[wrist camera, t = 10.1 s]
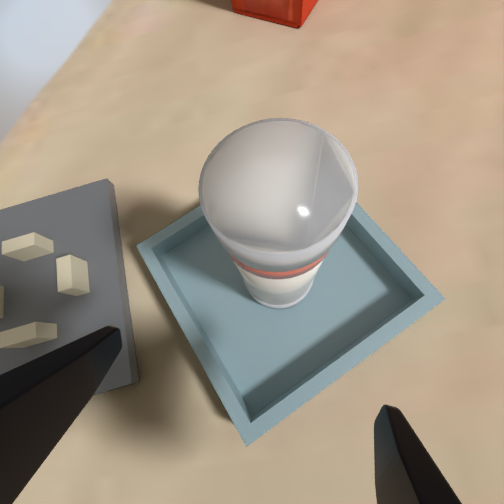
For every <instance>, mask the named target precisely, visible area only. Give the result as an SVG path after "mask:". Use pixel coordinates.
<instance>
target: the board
mask: <svg viewBox="0 0 504 504" xmlns="http://www.w3.org/2000/svg"><path fill="white" fill-rule="evenodd" d="M108 325H110V326H114V327H118V328H119V329H120V331H121V337H122V349H121V351H120V353H119V355H118V356H117V358H116V359H115V361H114V363H113V364H112V366H111V368H110V369H109V371H108V373H107V374H106V376H105V378H104V379H103V381H102V382H101V384H100V386H99V387H98V389H97V390H96V392H95V393H94V395H95V394H99V393H102V392H106V391H109V390H112V389H116V388H119V387H123V386H126V385H129V384H133V383H136V382H139V376H138V369H137V361H136V353H135V345H134V338H133V330H132V322H131V315H130V307H129V299H128V291H127V284H126V276H125V268H124V260H123V253H122V245H121V237H120V230H119V222H118V214H117V206H116V199H115V191H114V185H113V184H112V183H111V182H110V181H109V180H108V179H103V180H100V181H96V182H93V183H90V184H86V185H83V186H80V187H76V188H73V189H69V190H66V191H63V192H59V193H56V194H52V195H49V196H46V197H42V198H39V199H36V200H32V201H29V202H25V203H22V204H19V205H15V206H12V207H8V208H5V209H2V210H0V375H1V374H3V373H5V372H7V371H9V370H12V369H14V368H16V367H18V366H20V365H23V364H25V363H27V362H29V361H31V360H33V359H36V358H38V357H40V356H42V355H44V354H46V353H49V352H51V351H53V350H55V349H57V348H60V347H62V346H64V345H66V344H68V343H70V342H73V341H75V340H77V339H79V338H81V337H83V336H86V335H88V334H90V333H92V332H94V331H96V330H99V329H101V328H103V327H105V326H108Z"/></svg>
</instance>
